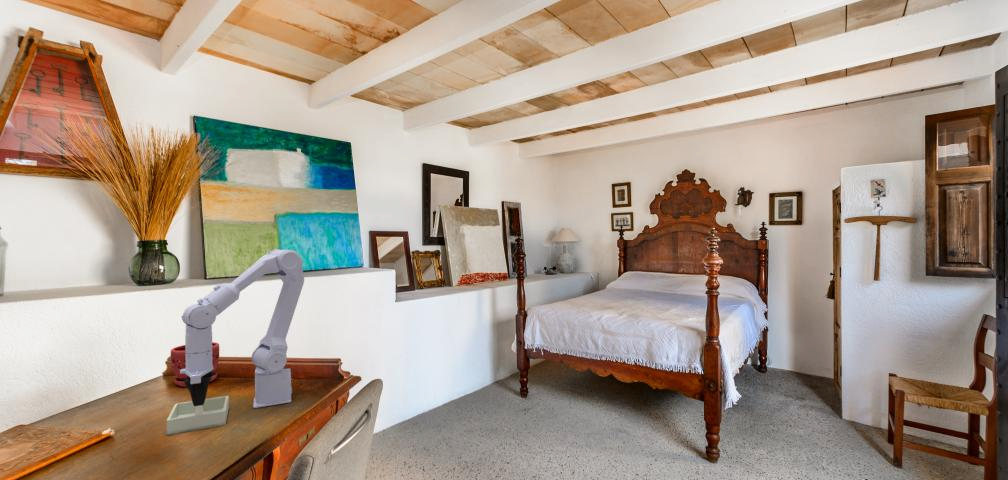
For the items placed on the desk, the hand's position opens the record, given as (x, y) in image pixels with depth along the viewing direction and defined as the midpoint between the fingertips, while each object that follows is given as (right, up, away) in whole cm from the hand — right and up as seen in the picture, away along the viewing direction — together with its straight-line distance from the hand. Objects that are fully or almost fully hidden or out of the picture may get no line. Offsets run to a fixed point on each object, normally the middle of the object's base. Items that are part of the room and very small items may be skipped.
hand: (199, 403), depth 115 cm
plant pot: (-22, -5, +30) cm, 38 cm away
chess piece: (0, -4, 0) cm, 4 cm away
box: (0, -5, 0) cm, 5 cm away
